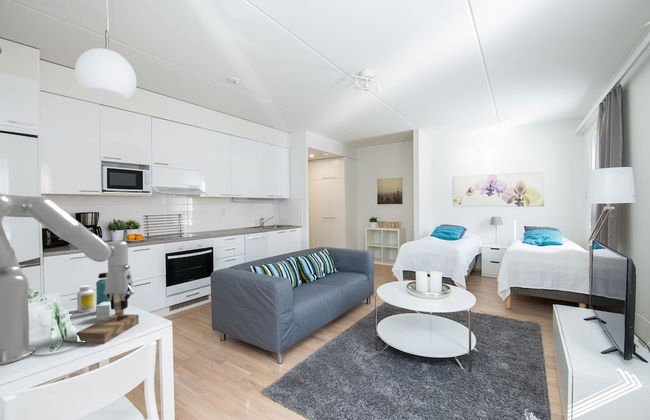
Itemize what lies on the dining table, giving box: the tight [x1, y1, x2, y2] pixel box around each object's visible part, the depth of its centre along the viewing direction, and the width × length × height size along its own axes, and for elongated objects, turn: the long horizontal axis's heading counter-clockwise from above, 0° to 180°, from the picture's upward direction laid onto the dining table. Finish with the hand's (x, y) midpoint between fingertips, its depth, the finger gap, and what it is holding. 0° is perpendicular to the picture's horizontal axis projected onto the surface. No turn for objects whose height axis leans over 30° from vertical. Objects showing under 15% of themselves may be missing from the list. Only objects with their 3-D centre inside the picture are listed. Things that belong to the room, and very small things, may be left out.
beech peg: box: [114, 294, 125, 315], centre depth 136 cm, size 4×4×10 cm
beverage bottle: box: [95, 272, 111, 306], centre depth 155 cm, size 6×7×20 cm
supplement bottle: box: [76, 284, 95, 313], centre depth 157 cm, size 7×7×13 cm
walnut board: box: [75, 314, 140, 344], centre depth 131 cm, size 20×12×4 cm, turn 176°
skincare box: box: [95, 302, 115, 322], centre depth 147 cm, size 6×6×7 cm
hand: (119, 308), depth 136 cm, fingers closed on beech peg, 4 cm apart
